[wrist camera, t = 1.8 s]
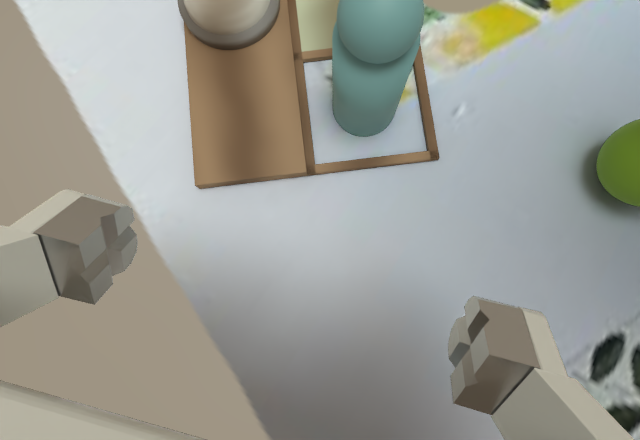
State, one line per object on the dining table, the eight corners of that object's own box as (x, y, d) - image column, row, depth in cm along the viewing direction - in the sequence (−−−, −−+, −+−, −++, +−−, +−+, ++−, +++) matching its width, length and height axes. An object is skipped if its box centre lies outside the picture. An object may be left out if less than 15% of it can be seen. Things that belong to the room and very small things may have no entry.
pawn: (390, 73, 28) (430, -69, 16) (399, 132, 27) (447, 26, 16) (329, 81, 28) (326, -55, 16) (336, 140, 27) (338, 40, 16)
